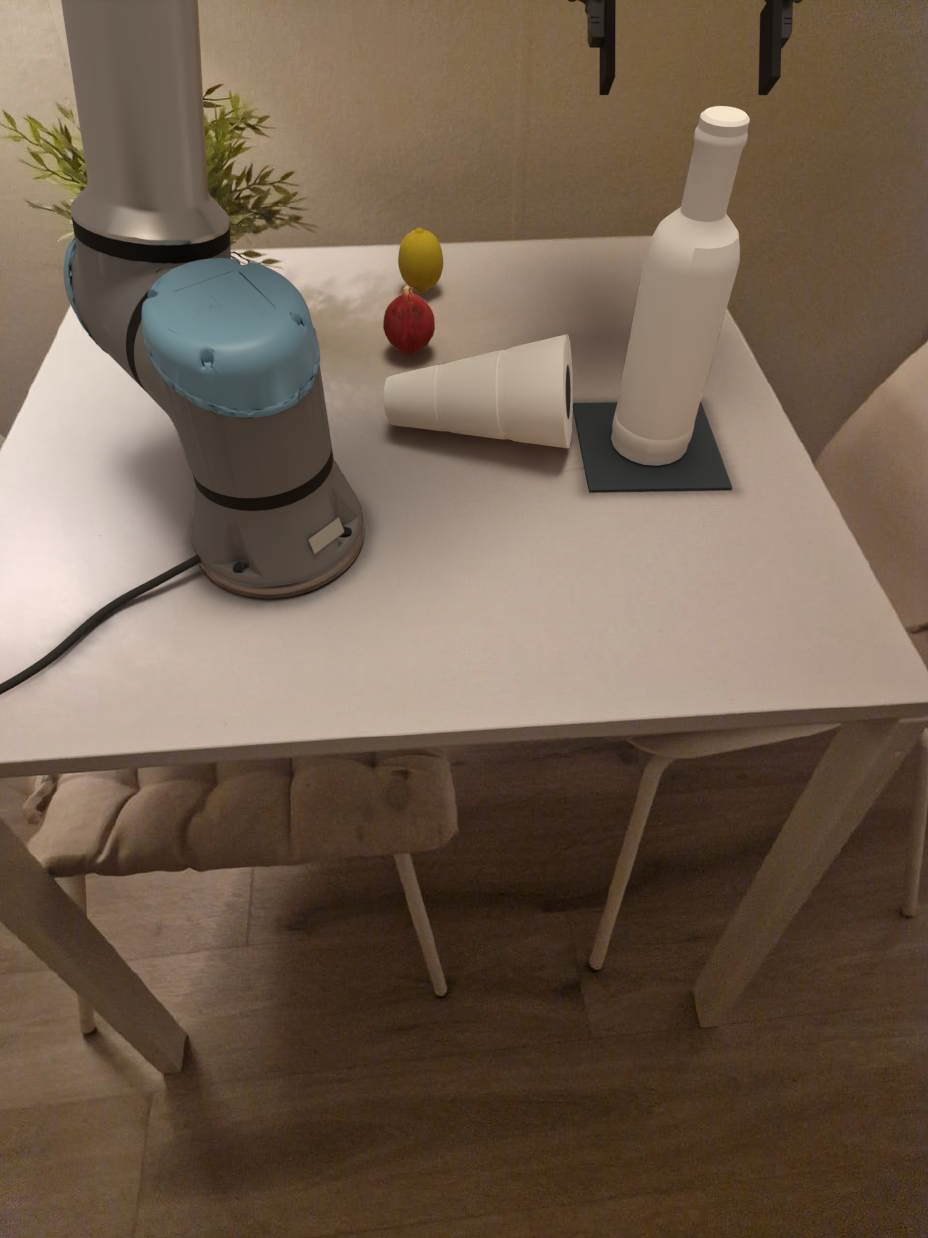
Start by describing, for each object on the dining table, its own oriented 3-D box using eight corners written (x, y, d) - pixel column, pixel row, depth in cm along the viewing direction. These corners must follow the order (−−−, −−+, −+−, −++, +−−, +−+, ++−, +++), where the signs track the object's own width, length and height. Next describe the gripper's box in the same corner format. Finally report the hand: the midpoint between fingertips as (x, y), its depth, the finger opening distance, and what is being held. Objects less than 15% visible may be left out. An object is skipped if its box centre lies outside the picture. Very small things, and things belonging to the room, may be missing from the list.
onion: (442, 361, 91) (441, 295, 85) (395, 372, 90) (390, 305, 83) (425, 335, 94) (423, 270, 88) (379, 345, 93) (373, 279, 87)
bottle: (685, 421, 84) (773, 96, 60) (691, 470, 79) (789, 137, 55) (608, 416, 84) (667, 92, 61) (610, 464, 79) (674, 131, 56)
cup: (388, 323, 80) (568, 311, 76) (411, 408, 88) (574, 401, 84) (366, 390, 74) (560, 380, 70) (393, 475, 82) (568, 471, 78)
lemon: (395, 284, 102) (391, 220, 96) (436, 278, 103) (435, 214, 97) (406, 306, 98) (402, 241, 92) (449, 299, 100) (448, 235, 93)
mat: (589, 492, 77) (589, 489, 77) (572, 404, 86) (572, 402, 86) (731, 489, 77) (732, 487, 77) (700, 403, 86) (701, 400, 86)
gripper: (543, -242, 60) (545, 58, 62) (869, -238, 60) (859, 58, 63) (532, -155, 67) (533, 110, 69) (822, -153, 68) (815, 110, 70)
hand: (688, 86), depth 66 cm, fingers open, 13 cm apart
